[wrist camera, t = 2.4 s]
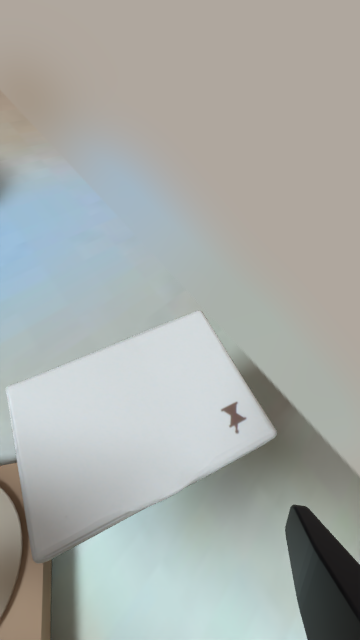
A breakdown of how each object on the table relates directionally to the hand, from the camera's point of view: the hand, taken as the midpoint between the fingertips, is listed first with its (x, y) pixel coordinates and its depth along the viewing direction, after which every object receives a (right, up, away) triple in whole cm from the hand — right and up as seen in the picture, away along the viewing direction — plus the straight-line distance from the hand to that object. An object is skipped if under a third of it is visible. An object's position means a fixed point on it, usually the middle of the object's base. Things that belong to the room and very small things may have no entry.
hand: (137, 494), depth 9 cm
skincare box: (0, -3, +9) cm, 10 cm away
